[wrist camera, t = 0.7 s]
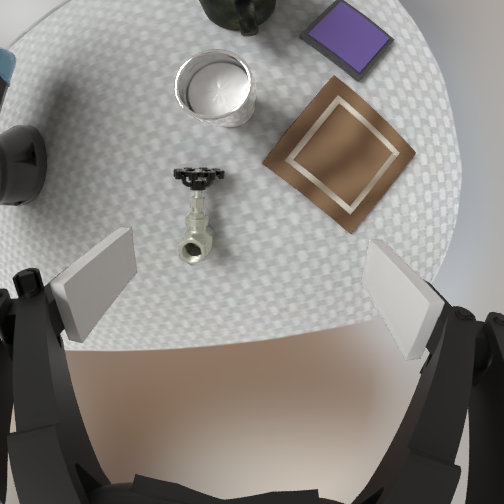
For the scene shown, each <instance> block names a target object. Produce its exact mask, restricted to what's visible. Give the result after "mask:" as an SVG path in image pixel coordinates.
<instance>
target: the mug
mask: <svg viewBox="0 0 504 504" xmlns="http://www.w3.org/2000/svg"><path fill="white" fill-rule="evenodd" d="M199 1H200V3H201V5H202V7H203V9H204V11H205V13H206V15H207V16H208V18H209V19H210V20H211V21H212V22H214V23H215V24H217V25H219V26H221V27H224V28H228V29H241V33H242V35H243V36H244V37H245V36H253V35H256V34H257V33H258V30H259V29H258V25H259V24H261V23H263V22H264V21H266V20H267V19H268V18H269V17H270V16H271V14H272V13H273V11H274V9H275V4H276V0H199Z"/></svg>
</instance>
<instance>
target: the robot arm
mask: <svg viewBox="0 0 504 504" xmlns="http://www.w3.org/2000/svg"><path fill="white" fill-rule="evenodd" d="M15 65H16V58H15V55H14V54H13V53H12V52H10V51H8V50H6V49H3V48H1V47H0V112H1V109H2V105H3V102H4V99H5V95H6V92H7V89H8V87H9V86H10V80H11V77H12V73H13V71H14V68H15ZM45 173H46V151H45V146H44V143H43V140H42V138H41V136H40V134H39V133H38V131H37V130H36V129H35V128H34V127H32V126H29V125H19V126H14V127H12V128H10V129H9V130H7V131H5V132H3V133H2V134H0V205H12V206H20V205H23V204H26V203H28V202H30V201H32V200H33V199H35V197H36V196H37V195H38V194H39V192H40V190H41V188H42V185H43V182H44V179H45ZM136 273H137V267H136V260H135V252H134V244H133V235H132V228H119V229H117V230H116V231H115V232H113V233H112V234H110V235H109V236H108V237H106V238H105V239H104V240H102V241H101V242H100V243H98V244H97V245H96V246H94V247H93V248H92V249H91V250H89V251H88V252H87V253H85V254H84V255H83V256H82V257H80V258H79V259H78V260H76V261H75V262H74V263H73V264H71V265H70V266H69V267H67V268H66V269H65V270H63V271H62V273H60V274H59V275H57V277H55V278H54V279H53V280H52V281H50V282H49V283H48V284H47V285H46V286H45V287H44V285H43V282H42V278H41V275H40V271H39V269H37V268H28V269H25V270H22V271H20V272H18V273H17V274H16V275H15V276H14V277H13V282H14V285H15V288H16V291H17V294H18V299H11V298H10V295H9V292H8V290H7V289H0V336H1V338H2V341H1V339H0V504H5V501H6V492H7V461H8V453H9V459H10V465H11V469H12V474H13V479H14V483H15V487H16V491H17V495H18V499H19V502H20V504H344V503H341V502H337V501H334V500H329V499H325V498H319V495H318V489H315V490H303V491H281V492H269V493H264V494H259V495H254V496H248V497H242V498H235V499H228V500H223V499H219V498H215V497H212V496H209V495H206V494H203V493H201V492H198V491H195V490H192V489H190V488H187V487H185V486H182V485H180V484H177V483H172V482H167V481H162V480H157V479H153V478H149V477H144V476H140V475H137V474H135V478H134V481H133V483H131V482H129V483H116V484H111V482H110V481H109V479H108V478H107V477H106V475H105V474H104V472H103V470H102V469H101V467H100V464H99V462H98V460H97V458H96V455H95V453H94V450H93V447H92V445H91V442H90V440H89V437H88V434H87V432H86V429H85V426H84V423H83V420H82V417H81V414H80V410H79V407H78V404H77V400H76V397H75V393H74V390H73V386H72V382H71V378H70V373H69V369H68V365H67V360H66V355H65V350H64V344H63V340H62V337H61V335H60V333H61V332H62V331H63V330H64V329H65V331H66V334H67V336H68V339H69V340H72V341H76V342H80V343H83V342H84V340H85V339H86V337H87V336H88V335H89V333H90V332H91V331H92V329H93V328H94V327H95V325H96V324H97V323H98V321H99V320H100V319H101V317H102V316H103V315H104V313H105V312H106V311H107V309H108V308H109V307H110V306H111V304H112V303H113V302H114V300H115V299H116V298H117V297H118V295H119V294H120V293H121V292H122V290H123V289H124V288H125V287H126V285H127V284H128V283H129V282H130V280H131V279H132V278H133V277H134V276H135V274H136ZM361 284H362V286H363V288H364V289H365V291H366V293H367V294H368V296H369V297H370V299H371V301H372V302H373V304H374V306H375V307H376V309H377V311H378V312H379V314H380V316H381V317H382V319H383V321H384V322H385V324H386V326H387V328H388V329H389V331H390V333H391V335H392V336H393V338H394V340H395V342H396V344H397V345H398V347H399V349H400V351H401V353H402V354H403V356H404V358H405V360H414V359H420V358H421V356H422V354H423V352H424V350H425V348H427V349H428V351H429V352H430V354H429V356H428V358H427V360H426V362H425V364H424V365H423V367H422V369H421V371H420V373H421V377H420V379H419V383H418V385H417V387H416V390H415V393H414V395H413V397H412V400H411V402H410V405H409V407H408V409H407V411H406V414H405V416H404V418H403V420H402V422H401V424H400V427H399V429H398V431H397V433H396V435H395V437H394V439H393V441H392V442H391V445H390V446H389V448H388V450H387V452H386V454H385V455H384V457H383V459H382V461H381V462H380V464H379V466H378V468H377V469H376V471H375V473H374V474H373V476H372V477H371V479H370V481H369V482H368V484H367V485H366V487H365V488H364V489H363V491H362V492H361V493H360V494H359V496H357V497H356V499H355V500H354V501H353V502H352V503H351V504H451V501H452V499H453V496H454V493H455V491H456V488H457V485H458V482H459V479H460V475H461V467H460V466H458V465H455V464H454V462H455V458H456V454H457V451H458V447H459V444H460V440H461V436H462V432H463V428H464V423H465V419H466V414H467V409H468V414H469V445H470V446H469V472H468V485H467V493H466V501H465V504H504V315H502V314H501V313H496V312H490V313H489V314H488V316H487V318H486V320H485V322H482V321H476V319H475V316H474V315H473V314H472V313H471V312H470V311H469V310H467V309H465V308H463V307H459V306H453V307H452V306H451V305H450V304H449V303H448V302H447V301H446V300H445V298H444V297H443V296H442V295H440V293H439V292H438V291H437V290H435V288H434V287H433V286H432V285H431V284H430V283H429V282H427V281H425V280H424V279H422V278H421V277H420V276H419V275H418V274H417V273H416V272H415V271H414V270H413V269H412V268H411V267H410V266H409V265H408V264H407V263H406V262H405V261H404V260H403V259H402V258H401V257H400V256H399V255H398V254H397V253H396V252H395V251H394V250H393V249H392V248H391V247H389V246H388V245H387V244H386V243H385V242H384V241H383V240H382V239H370V240H369V245H368V251H367V256H366V260H365V265H364V270H363V275H362V279H361ZM13 404H14V410H15V421H16V432H13V433H10V424H11V416H12V409H13Z"/></svg>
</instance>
